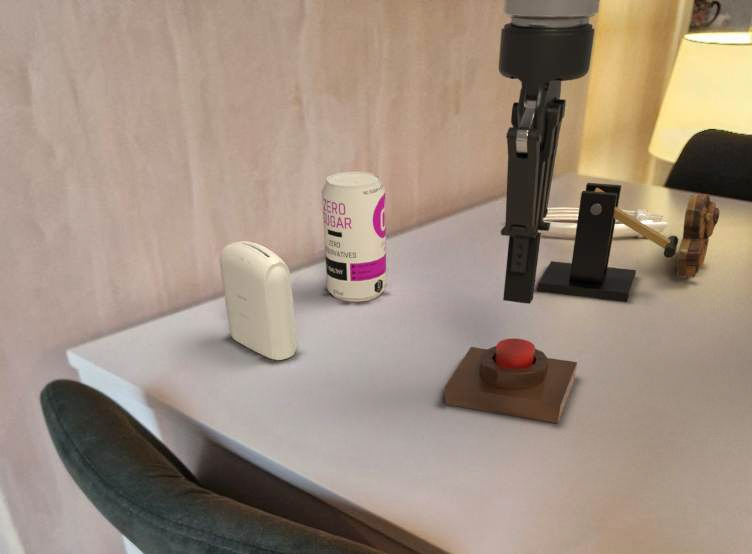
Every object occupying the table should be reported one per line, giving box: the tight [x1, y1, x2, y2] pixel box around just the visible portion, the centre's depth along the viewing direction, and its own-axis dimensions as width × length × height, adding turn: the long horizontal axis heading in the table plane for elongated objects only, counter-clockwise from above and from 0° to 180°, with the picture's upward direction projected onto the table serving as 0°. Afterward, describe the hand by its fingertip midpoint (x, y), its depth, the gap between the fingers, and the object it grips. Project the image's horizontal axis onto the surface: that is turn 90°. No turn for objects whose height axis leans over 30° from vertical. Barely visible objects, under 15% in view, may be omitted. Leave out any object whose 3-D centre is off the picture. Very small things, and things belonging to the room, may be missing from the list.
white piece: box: [538, 207, 668, 239], centre depth 125 cm, size 3×10×25 cm
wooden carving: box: [676, 193, 720, 278], centre depth 108 cm, size 16×5×10 cm, turn 160°
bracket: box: [537, 182, 637, 302], centre depth 103 cm, size 12×9×13 cm
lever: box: [594, 188, 679, 259], centre depth 100 cm, size 13×5×2 cm, turn 68°
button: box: [495, 338, 536, 369], centre depth 80 cm, size 4×4×2 cm
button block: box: [444, 345, 578, 424], centre depth 82 cm, size 12×10×4 cm
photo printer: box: [219, 240, 298, 361], centre depth 90 cm, size 10×4×12 cm, turn 41°
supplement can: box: [321, 171, 387, 303], centre depth 102 cm, size 8×8×15 cm
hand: (518, 299), depth 76 cm, fingers closed
